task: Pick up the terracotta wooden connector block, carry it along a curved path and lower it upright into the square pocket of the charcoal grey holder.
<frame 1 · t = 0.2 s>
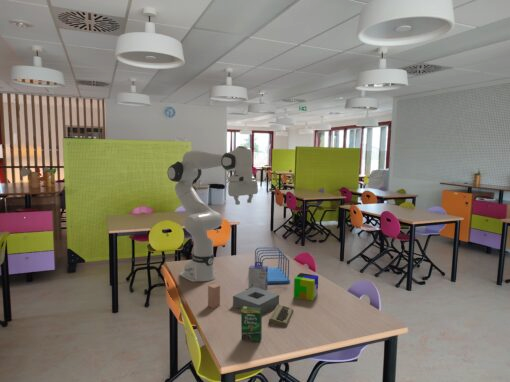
hand: (243, 203, 188), 47 cm above the table, tool pointing down, fingers open, 8 cm apart
ink cartridge box: (258, 288, 197), on the table
connector block: (213, 305, 173), on the table
computer: (281, 319, 162), on the table
coffee box: (251, 340, 142), on the table
puzzle toy: (305, 295, 188), on the table
file sorter: (270, 277, 216), on the table
holder: (256, 305, 175), on the table
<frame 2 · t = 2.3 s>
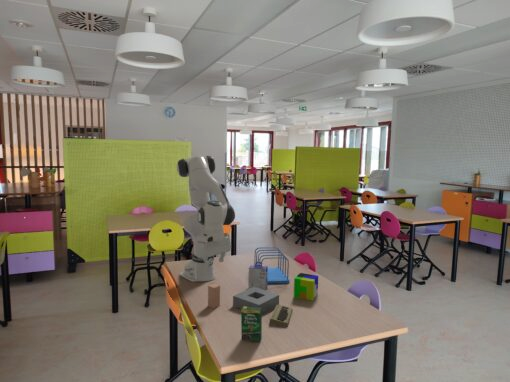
hand: (214, 263, 171), 21 cm above the table, tool pointing down, fingers open, 8 cm apart
nothing on the table moved.
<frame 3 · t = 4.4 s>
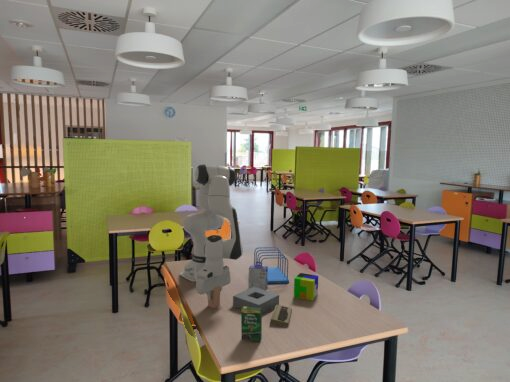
hand: (214, 297, 173), 4 cm above the table, tool pointing down, fingers closed on connector block, 4 cm apart
connector block: (213, 305, 173), on the table, touching gripper
everything else where it was.
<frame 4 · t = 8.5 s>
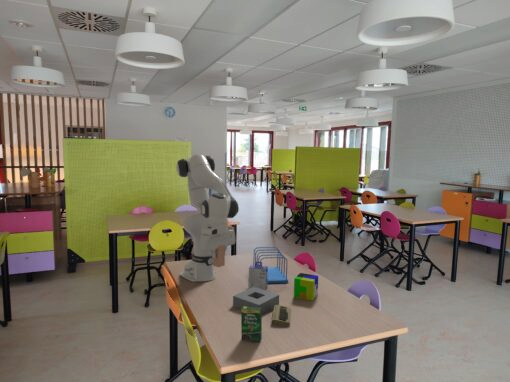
hand: (218, 256, 169), 25 cm above the table, tool pointing down, fingers closed on connector block, 4 cm apart
connector block: (218, 265, 170), point 20 cm above the table, touching gripper
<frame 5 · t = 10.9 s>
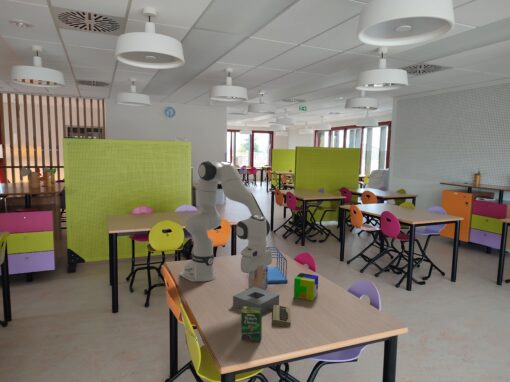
hand: (256, 277, 173), 14 cm above the table, tool pointing down, fingers closed on connector block, 4 cm apart
connector block: (256, 285, 173), point 10 cm above the table, touching gripper
when the fingers open (7 cm above the table, at t = 12.8 s): connector block drops 2 cm, resting on holder.
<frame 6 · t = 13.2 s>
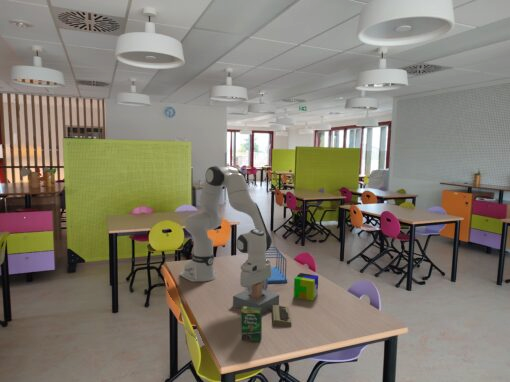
hand: (256, 291, 174), 7 cm above the table, tool pointing down, fingers open, 8 cm apart
connector block: (256, 303, 174), point 1 cm above the table, touching holder
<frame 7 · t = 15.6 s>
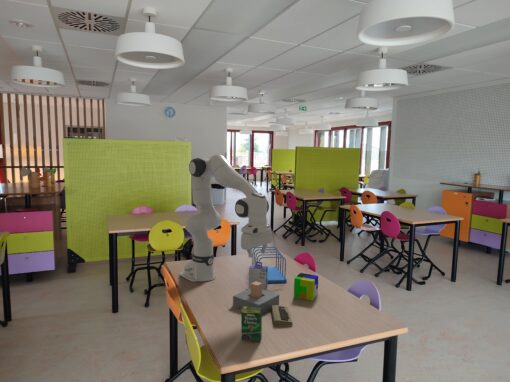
hand: (257, 255, 172), 25 cm above the table, tool pointing down, fingers open, 8 cm apart
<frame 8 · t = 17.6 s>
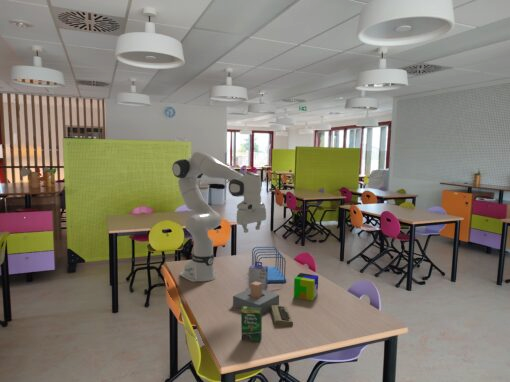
hand: (251, 231, 184), 34 cm above the table, tool pointing down, fingers open, 8 cm apart
at the end: connector block 0.0 cm off-centre on the holder, point 1.0 cm above the holder's base; connector block tilted 0°; the gripper is holding nothing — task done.
